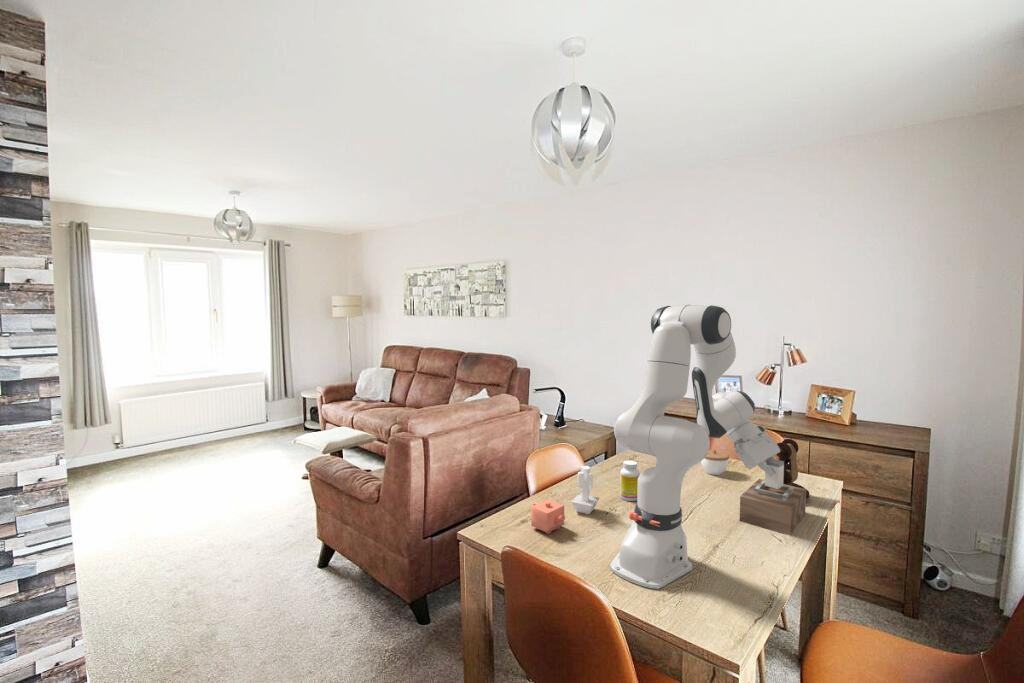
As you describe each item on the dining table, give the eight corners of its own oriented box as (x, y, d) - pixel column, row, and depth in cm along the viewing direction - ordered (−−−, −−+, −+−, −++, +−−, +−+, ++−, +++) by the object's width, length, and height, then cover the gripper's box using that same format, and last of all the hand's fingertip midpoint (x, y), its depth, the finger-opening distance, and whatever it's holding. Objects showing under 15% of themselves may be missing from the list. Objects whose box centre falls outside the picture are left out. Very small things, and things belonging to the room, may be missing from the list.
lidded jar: (733, 477, 184) (734, 453, 183) (706, 477, 184) (706, 454, 184) (721, 467, 195) (722, 445, 194) (695, 468, 195) (696, 446, 194)
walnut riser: (789, 535, 138) (791, 504, 137) (739, 520, 147) (740, 491, 146) (805, 513, 152) (806, 484, 151) (758, 501, 162) (759, 474, 161)
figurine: (600, 507, 158) (600, 464, 157) (590, 518, 150) (590, 472, 149) (580, 502, 162) (580, 460, 161) (569, 513, 154) (569, 469, 152)
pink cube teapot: (556, 540, 137) (555, 513, 136) (526, 526, 145) (526, 501, 144) (572, 531, 142) (572, 504, 141) (543, 518, 151) (543, 493, 150)
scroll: (800, 508, 156) (803, 449, 154) (754, 495, 167) (756, 440, 165) (815, 496, 165) (817, 441, 164) (770, 484, 176) (772, 432, 175)
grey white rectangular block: (778, 489, 146) (779, 464, 145) (764, 485, 149) (765, 461, 148) (783, 485, 149) (784, 461, 148) (769, 482, 152) (770, 458, 151)
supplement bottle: (640, 502, 162) (640, 466, 161) (620, 501, 163) (620, 465, 162) (638, 494, 168) (639, 459, 167) (620, 493, 170) (620, 458, 169)
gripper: (738, 437, 146) (771, 476, 139) (765, 425, 159) (796, 460, 153) (724, 447, 150) (755, 486, 143) (751, 435, 163) (780, 470, 157)
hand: (776, 472), depth 148 cm, fingers closed on grey white rectangular block, 4 cm apart
